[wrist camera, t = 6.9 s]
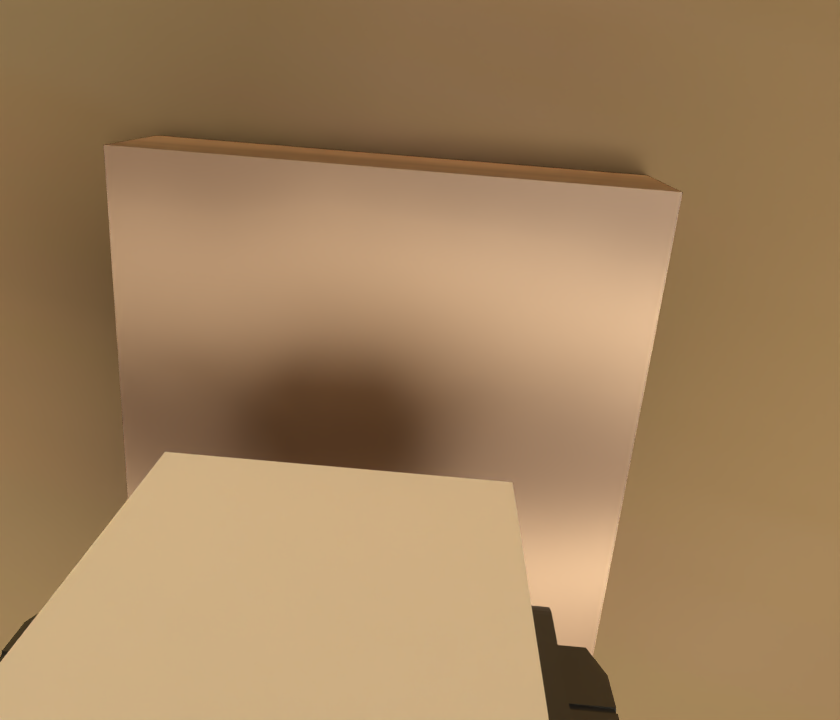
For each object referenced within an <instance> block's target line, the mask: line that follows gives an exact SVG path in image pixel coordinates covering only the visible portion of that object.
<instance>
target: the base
mask: <svg viewBox="0 0 840 720" xmlns="http://www.w3.org/2000/svg"><path fill="white" fill-rule="evenodd" d="M104 157H105V172H106V187H107V201H108V216H109V231H110V245H111V260H112V275H113V289H114V304H115V319H116V333H117V348H118V363H119V377H120V392H121V406H122V421H123V436H124V450H125V465H126V480H127V494H128V498H129V497H130V496H131V495H132V493H133V492H134V491H135V489H136V488H137V487H138V486H139V484H140V483H141V482H142V480H143V479H144V478H145V477H146V475H147V474H148V473H149V472H150V470H151V469H152V468H153V466H154V465H155V464H156V463H157V461H158V460H159V459H160V458H161V456H162V455H163V454H164V452H172V453H184V454H195V455H207V456H218V457H230V458H241V459H252V460H264V461H275V462H287V463H298V464H310V465H321V466H332V467H344V468H355V469H367V470H378V471H390V472H401V473H412V474H424V475H435V476H447V477H458V478H470V479H481V480H492V481H504V482H512V483H513V489H514V496H515V502H516V509H517V515H518V522H519V528H520V535H521V541H522V548H523V554H524V561H525V567H526V574H527V581H528V587H529V594H530V600H531V605H532V606H543V607H549V608H550V609H551V613H552V617H553V622H554V628H555V633H556V638H557V644H558V645H563V646H575V647H586V648H587V650H588V651H589V652H590V654H591V655H592V656H593V653H594V648H595V642H596V637H597V632H598V627H599V622H600V617H601V612H602V606H603V601H604V596H605V591H606V586H607V581H608V575H609V570H610V565H611V560H612V555H613V550H614V544H615V539H616V534H617V529H618V524H619V519H620V513H621V508H622V503H623V498H624V493H625V488H626V482H627V477H628V472H629V467H630V462H631V457H632V451H633V446H634V441H635V436H636V431H637V426H638V420H639V415H640V410H641V405H642V400H643V395H644V389H645V384H646V379H647V374H648V369H649V364H650V358H651V353H652V348H653V343H654V338H655V333H656V327H657V322H658V317H659V312H660V307H661V302H662V296H663V291H664V286H665V281H666V276H667V271H668V265H669V260H670V255H671V250H672V245H673V240H674V234H675V229H676V224H677V219H678V214H679V209H680V203H681V198H682V193H683V192H681V191H679V190H677V189H675V188H673V187H671V186H669V185H666V184H664V183H662V182H660V181H658V180H656V179H654V178H652V177H650V176H648V175H636V174H623V173H611V172H599V171H587V170H574V169H562V168H550V167H538V166H525V165H513V164H501V163H489V162H476V161H464V160H452V159H440V158H427V157H415V156H403V155H391V154H379V153H366V152H354V151H342V150H330V149H317V148H305V147H293V146H281V145H268V144H256V143H244V142H232V141H219V140H207V139H195V138H183V137H170V136H158V135H157V136H151V137H145V138H140V139H134V140H128V141H122V142H117V143H111V144H105V145H104Z"/></svg>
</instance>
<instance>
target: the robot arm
mask: <svg viewBox="0 0 840 720" xmlns="http://www.w3.org/2000/svg"><path fill="white" fill-rule="evenodd" d="M531 607H532V613H533V620H534V626H535V633H536V639H537V646H538V652H539V659H540V665H541V672H542V678H543V685H544V691H545V698H546V705H547V711H548V718H549V720H619V717H618V714H616V706H615V702H614V698H613V695H612V691H611V687H610V683H609V679H608V676H607V674H606V673H605V672H604V671H603V669H602V668H601V667H600V665H599V664H598V663H597V661H596V660H595V659H594V658H593V656H592V655H591V654H590V652H589V651H588V650H587V648H586V647H575V646H563V645H558V644H557V638H556V633H555V628H554V622H553V617H552V613H551V609H550V608H549V607H543V606H532V605H531ZM37 615H38V614H36V615H35V616H33V617H32V618H30V619H29V620H28V621H26V622H25V623H24V624H23V625H22V627H21V628H20V629H19V630H18V632H17V633H16V634H15V635H14V637H13V638H12V639H11V640H10V642H9V643H8V644H7V645H6V647H5V648H4V649H3V650H2V655H1V657H0V662H1V661H2V659H3V658H4V657H5V655H6V654H7V653H8V652H9V650H10V649H11V648H12V647H13V645H14V644H15V643H16V641H17V640H18V639H19V638H20V636H21V635H22V634H23V632H24V631H25V630H26V629H27V627H28V626H29V625H30V624H31V622H32V621H33V620H34V618H35V617H36V616H37Z"/></svg>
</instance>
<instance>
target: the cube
mask: <svg viewBox="0 0 840 720" xmlns="http://www.w3.org/2000/svg"><path fill="white" fill-rule="evenodd" d="M0 720H549V718H548V711H547V705H546V698H545V691H544V685H543V678H542V672H541V665H540V659H539V652H538V646H537V639H536V633H535V626H534V620H533V613H532V607H531V600H530V594H529V587H528V581H527V574H526V567H525V561H524V554H523V548H522V541H521V535H520V528H519V522H518V515H517V509H516V502H515V496H514V489H513V483H512V482H504V481H492V480H481V479H470V478H458V477H447V476H435V475H424V474H412V473H401V472H390V471H378V470H367V469H355V468H344V467H332V466H321V465H310V464H298V463H287V462H275V461H264V460H252V459H241V458H230V457H218V456H207V455H195V454H184V453H172V452H164V454H163V455H162V456H161V458H160V459H159V460H158V461H157V463H156V464H155V465H154V466H153V468H152V469H151V470H150V472H149V473H148V474H147V475H146V477H145V478H144V479H143V480H142V482H141V483H140V484H139V486H138V487H137V488H136V489H135V491H134V492H133V493H132V495H131V496H130V497H129V498H128V500H127V501H126V502H125V503H124V505H123V506H122V507H121V509H120V510H119V511H118V512H117V514H116V515H115V516H114V518H113V519H112V520H111V521H110V523H109V524H108V525H107V526H106V528H105V529H104V530H103V532H102V533H101V534H100V535H99V537H98V538H97V539H96V541H95V542H94V543H93V544H92V546H91V547H90V548H89V549H88V551H87V552H86V553H85V555H84V556H83V557H82V558H81V560H80V561H79V562H78V564H77V565H76V566H75V567H74V569H73V570H72V571H71V572H70V574H69V575H68V576H67V578H66V579H65V580H64V581H63V583H62V584H61V585H60V586H59V588H58V589H57V590H56V592H55V593H54V594H53V595H52V597H51V598H50V599H49V601H48V602H47V603H46V604H45V606H44V607H43V608H42V609H41V611H40V612H39V613H38V615H37V616H36V617H35V618H34V620H33V621H32V622H31V624H30V625H29V626H28V627H27V629H26V630H25V631H24V632H23V634H22V635H21V636H20V638H19V639H18V640H17V641H16V643H15V644H14V645H13V647H12V648H11V649H10V650H9V652H8V653H7V654H6V655H5V657H4V658H3V659H2V661H1V662H0Z"/></svg>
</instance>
